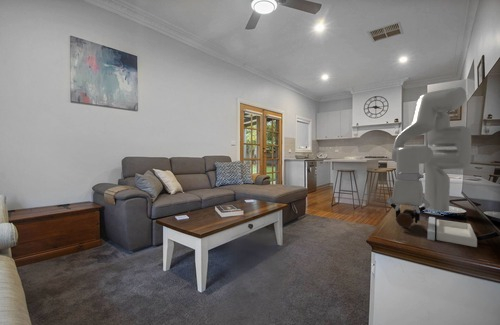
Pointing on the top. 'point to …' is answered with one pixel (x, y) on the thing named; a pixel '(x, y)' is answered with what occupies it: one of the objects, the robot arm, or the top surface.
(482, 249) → the top surface
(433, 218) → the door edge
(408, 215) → the dark brown dumbbell
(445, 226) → the tray
